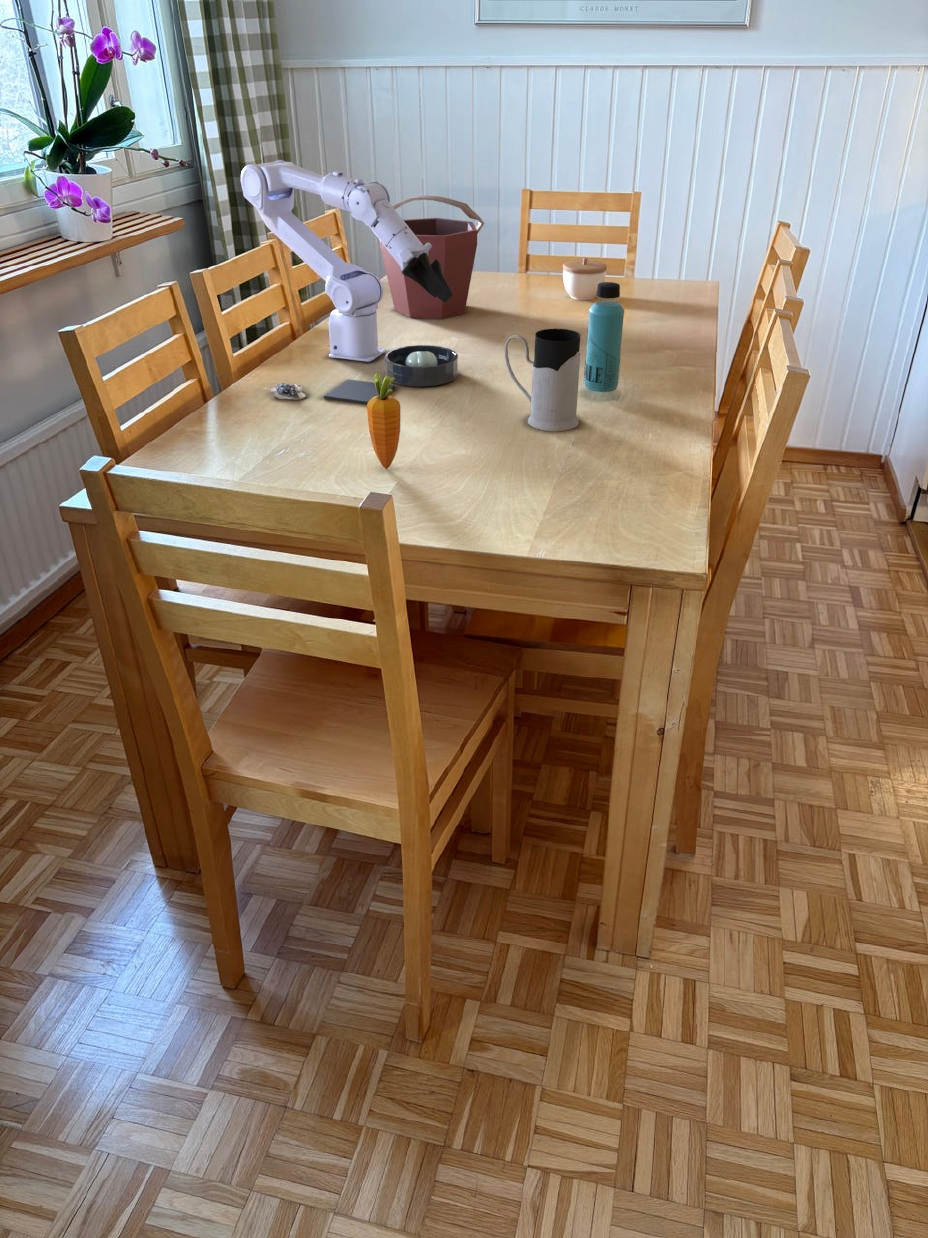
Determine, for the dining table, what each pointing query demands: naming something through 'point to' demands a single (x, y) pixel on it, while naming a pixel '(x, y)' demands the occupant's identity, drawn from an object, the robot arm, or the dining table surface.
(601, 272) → the trinket box
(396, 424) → the carrot
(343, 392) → the mat
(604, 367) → the beverage bottle
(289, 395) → the blueberries
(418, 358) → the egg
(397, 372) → the basin
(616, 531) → the dining table surface
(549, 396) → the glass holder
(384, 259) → the bucket
